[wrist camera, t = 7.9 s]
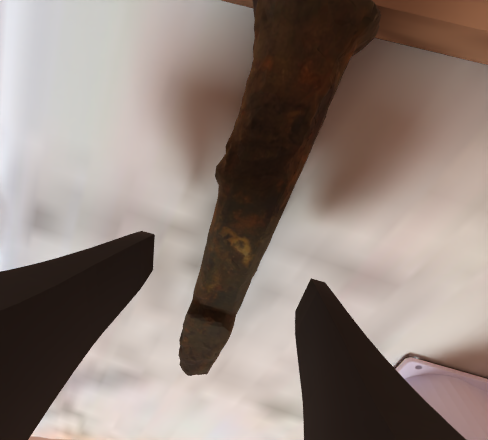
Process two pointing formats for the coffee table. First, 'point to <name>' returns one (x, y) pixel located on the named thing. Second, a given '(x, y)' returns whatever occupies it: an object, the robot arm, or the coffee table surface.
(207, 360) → the hand tool
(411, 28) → the light brown wooden board
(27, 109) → the coffee table surface
